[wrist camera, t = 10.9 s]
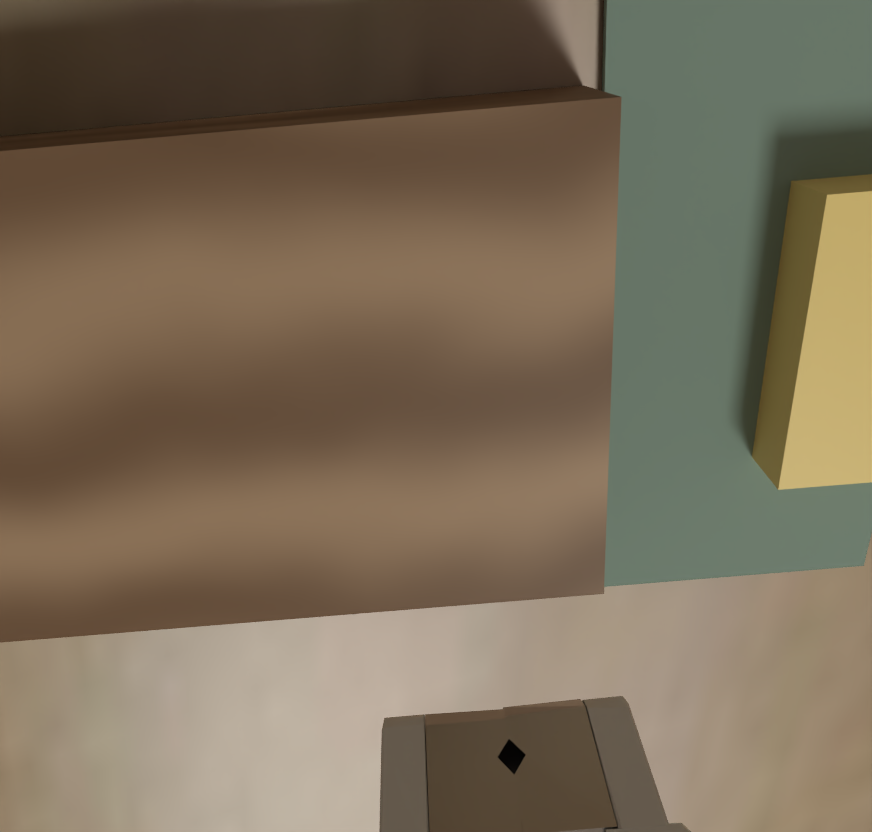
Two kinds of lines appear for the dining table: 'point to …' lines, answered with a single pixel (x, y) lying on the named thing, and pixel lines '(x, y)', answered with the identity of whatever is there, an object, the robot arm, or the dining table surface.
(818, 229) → the yellow block
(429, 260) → the board
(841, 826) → the dining table surface
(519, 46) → the dining table surface
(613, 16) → the mat
